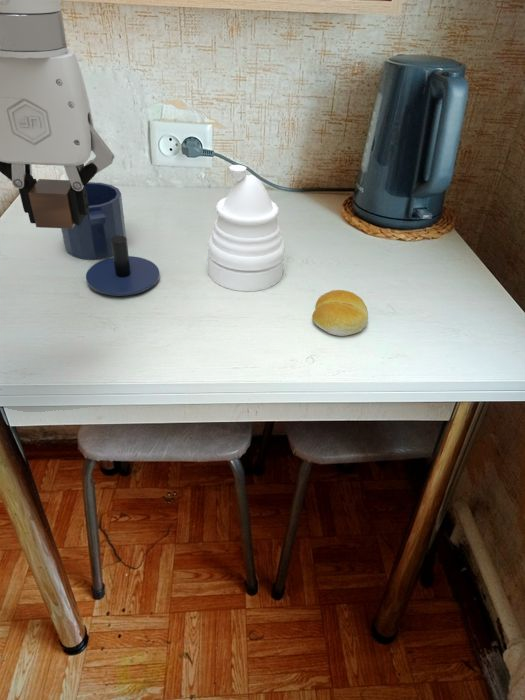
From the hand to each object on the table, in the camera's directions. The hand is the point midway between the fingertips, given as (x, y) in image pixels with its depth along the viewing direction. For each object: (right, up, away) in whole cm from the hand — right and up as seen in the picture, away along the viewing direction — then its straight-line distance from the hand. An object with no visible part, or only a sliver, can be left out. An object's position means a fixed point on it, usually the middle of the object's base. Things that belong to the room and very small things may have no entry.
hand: (58, 217), depth 58 cm
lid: (+1, -3, +25) cm, 25 cm away
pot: (-7, +4, +34) cm, 34 cm away
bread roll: (+35, -11, +20) cm, 42 cm away
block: (0, 0, 0) cm, 0 cm away
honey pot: (+20, -2, +30) cm, 36 cm away
